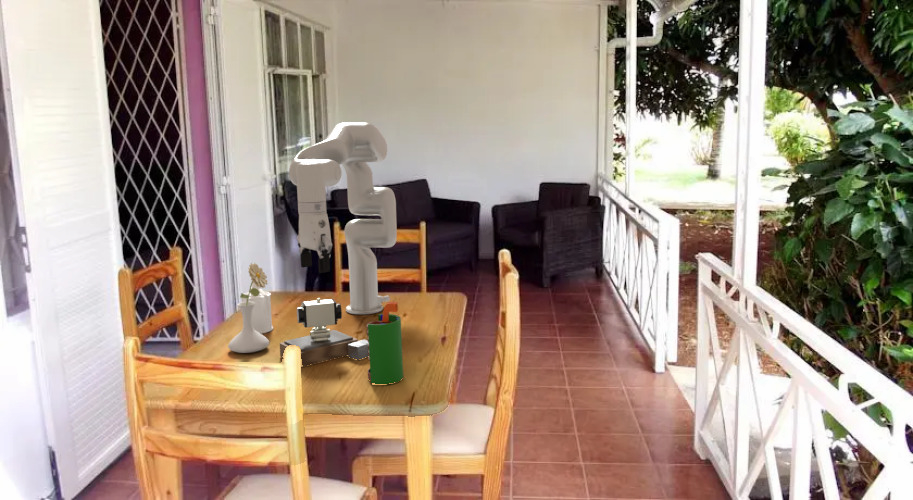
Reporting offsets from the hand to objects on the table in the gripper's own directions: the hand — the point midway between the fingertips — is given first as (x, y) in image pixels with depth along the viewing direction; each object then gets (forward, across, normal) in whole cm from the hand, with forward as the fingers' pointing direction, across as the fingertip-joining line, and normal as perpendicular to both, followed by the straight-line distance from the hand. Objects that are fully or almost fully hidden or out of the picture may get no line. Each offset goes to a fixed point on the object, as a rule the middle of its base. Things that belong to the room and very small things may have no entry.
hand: (315, 269), depth 202 cm
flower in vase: (+25, +17, +12) cm, 32 cm away
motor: (+24, -29, -2) cm, 38 cm away
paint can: (+25, +33, +2) cm, 41 cm away
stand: (+24, -1, +1) cm, 24 cm away
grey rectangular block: (+25, -10, -7) cm, 28 cm away
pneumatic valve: (+20, -2, +1) cm, 20 cm away
